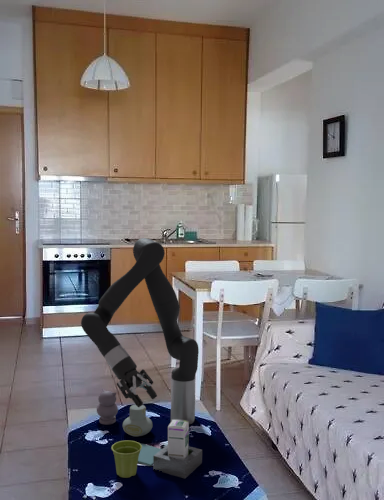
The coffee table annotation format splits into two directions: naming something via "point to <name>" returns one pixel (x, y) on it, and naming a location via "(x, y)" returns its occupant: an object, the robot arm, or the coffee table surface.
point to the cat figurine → (107, 407)
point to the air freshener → (137, 422)
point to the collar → (177, 462)
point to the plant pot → (126, 457)
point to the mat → (147, 454)
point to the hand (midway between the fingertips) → (148, 401)
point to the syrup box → (178, 439)
